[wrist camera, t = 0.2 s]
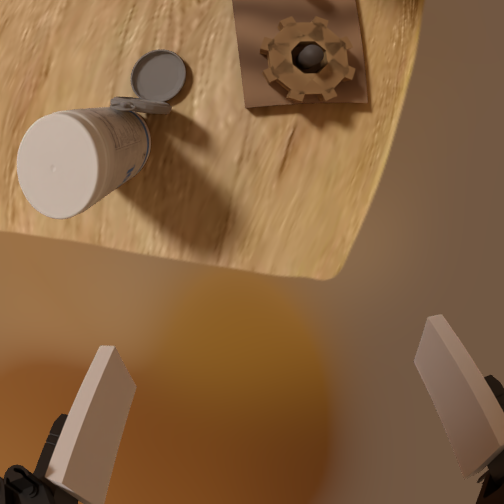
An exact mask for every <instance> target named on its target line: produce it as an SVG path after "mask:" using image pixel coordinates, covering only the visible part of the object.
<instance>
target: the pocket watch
mask: <svg viewBox="0 0 504 504" xmlns="http://www.w3.org/2000/svg"><path fill="white" fill-rule="evenodd" d="M185 79H186V68H185V65H184V63H183V61H182V59H181V58H180V57H179V56H178V55H177V54H176V53H174V52H172V51H169V50H154V51H151V52H148V53H147V54H145V55H143V56H142V57H141V58H140V59H139V60H138V61H137V62H136V64H135V66H134V67H133V70H132V73H131V85H132V88H133V91H134V92H135V94H136V95H137V96H138V97H139V98H132V97H114V98H113V99H111V105H110V108H112V109H114V110H119V111H135V112H142V113H153V114H169V113H170V111H171V109H172V107H171V106H170V104H168V103H165V101H168V100H170V99H172V98H173V97H174V96H176V95H177V94H178V93H179V91H180V90H181V89H182V87H183V85H184V83H185Z"/></svg>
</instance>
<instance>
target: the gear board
mask: <svg viewBox="0 0 504 504" xmlns="http://www.w3.org/2000/svg"><path fill="white" fill-rule="evenodd" d="M232 2H233V10H234V18H235V26H236V34H237V42H238V50H239V59H240V67H241V75H242V84H243V92H244V100H245V108H251V107H261V106H272V105H286V104H304V103H368V98H367V85H366V74H365V65H364V56H363V47H362V40H361V33H360V26H359V19H358V13H357V8H356V2H355V0H232Z"/></svg>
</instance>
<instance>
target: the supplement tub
mask: <svg viewBox="0 0 504 504" xmlns="http://www.w3.org/2000/svg"><path fill="white" fill-rule="evenodd" d="M150 149H151V136H150V132H149V129H148V127H147V125H146V123H145V121H144V120H143V119H142V117H141V116H140V115H138V114H137V113H136V112H134V111H119V110H114V109H112V108H110V107H103V108H87V109H74V110H66V111H59V112H55V113H52V114H50V115H46V116H44V117H42V118H40V119H38V120H37V121H36V122H35V123H34V124H32V125H31V127H30V128H29V129H28V130H27V132H26V133H25V135H24V137H23V139H22V141H21V144H20V147H19V151H18V156H17V173H18V179H19V183H20V186H21V188H22V191H23V193H24V195H25V197H26V198H27V200H28V201H29V203H30V204H31V205H32V206H33V207H34V208H35V209H36V210H37V211H39V212H40V213H42V214H43V215H45V216H47V217H50V218H54V219H67V218H71V217H73V216H75V215H77V214H80V213H82V212H84V211H85V210H87V209H88V208H90V207H91V206H93V205H94V204H96V203H97V202H98V201H100V200H101V199H102V198H104V197H105V196H107V195H108V194H109V193H111V192H112V191H114V190H115V189H116V188H118V187H119V186H121V185H122V184H123V183H125V182H126V181H128V180H129V179H131V178H132V177H134V176H135V175H136V174H137V173H138V172H139V171H140V170H141V169H142V168H143V166H144V165H145V163H146V161H147V159H148V157H149V154H150Z"/></svg>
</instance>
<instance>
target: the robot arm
mask: <svg viewBox="0 0 504 504" xmlns="http://www.w3.org/2000/svg"><path fill="white" fill-rule="evenodd" d="M414 364H415V366H416V368H417V370H418V372H419V374H420V376H421V378H422V380H423V382H424V384H425V386H426V389H427V391H428V393H429V395H430V397H431V399H432V402H433V404H434V406H435V408H436V411H437V413H438V415H439V417H440V419H441V422H442V424H443V427H444V429H445V431H446V434H447V436H448V439H449V441H450V444H451V446H452V449H453V451H454V454H455V456H456V459H457V461H458V464H459V467H460V470H461V472H462V474H463V478H464V479H466V478H469V477H471V476H473V475H475V474H477V473H479V472H480V471H482V470H483V469H484V468H485V467H486V466H488V469H489V470H488V471H487V472H486V473H484V474H483V475H482V476H481V477H480V478H479V479H478V481H477V483H479V482H481V481H482V480H483V479H484V482H483V483H482V484H483V485H482V488H481V491H480V494H479V496H478V499H477V502H476V504H504V388H503V386H502V385H501V383H500V382H499V381H498V380H497V379H495V378H494V377H493V376H492V375H489V376H487V377H483V375H482V374H481V372H480V370H479V369H478V367H477V366H476V364H475V362H474V361H473V360H472V358H471V356H470V355H469V353H468V352H467V350H466V349H465V347H464V346H463V344H462V342H461V341H460V340H459V338H458V337H457V335H456V334H455V332H454V331H453V329H452V328H451V326H450V325H449V324H448V322H447V321H446V319H445V318H444V317H443V315H442V314H440V315H435V316H430V317H427V320H426V324H425V328H424V331H423V334H422V337H421V340H420V343H419V346H418V350H417V353H416V356H415V358H414ZM135 390H136V385H135V383H134V381H133V380H132V378H131V376H130V374H129V372H128V370H127V369H126V367H125V365H124V363H123V361H122V359H121V357H120V355H119V353H118V351H117V349H116V347H115V346H100V347H99V349H98V351H97V353H96V355H95V358H94V360H93V362H92V364H91V366H90V368H89V370H88V372H87V374H86V377H85V378H84V381H83V383H82V385H81V387H80V389H79V392H78V394H77V396H76V398H75V401H74V403H73V405H72V408H71V410H70V412H69V415H66V414H61V415H60V416H59V417H58V418H57V420H56V421H55V422H54V424H53V426H52V428H51V430H50V435H48V438H47V440H46V443H45V445H44V448H43V450H42V453H41V455H40V458H39V460H38V464H37V466H36V469H35V471H34V473H33V474H32V473H31V472H29V471H28V470H27V469H25V468H24V467H23V466H21V465H13V466H11V467H10V468H8V470H7V471H6V472H5V475H4V479H3V478H1V477H0V504H78V500H79V501H80V502H82V503H84V504H104V502H105V498H106V494H107V490H108V486H109V481H110V477H111V473H112V470H113V466H114V462H115V458H116V455H117V451H118V447H119V443H120V440H121V436H122V433H123V429H124V426H125V422H126V419H127V416H128V413H129V409H130V406H131V403H132V400H133V396H134V393H135Z"/></svg>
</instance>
